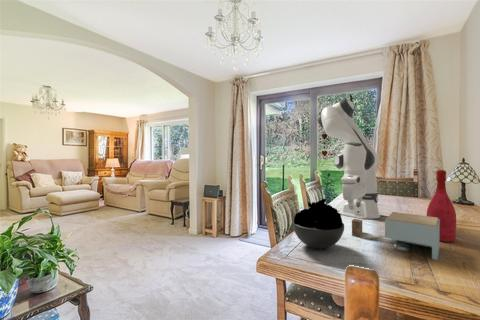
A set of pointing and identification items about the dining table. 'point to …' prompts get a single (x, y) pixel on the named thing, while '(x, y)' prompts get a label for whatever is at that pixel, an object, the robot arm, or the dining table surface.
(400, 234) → the cabinet
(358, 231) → the wood-handled metal tool
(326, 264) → the dining table surface
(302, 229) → the coal bowl
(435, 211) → the wine bottle
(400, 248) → the steel puck
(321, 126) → the robot arm
